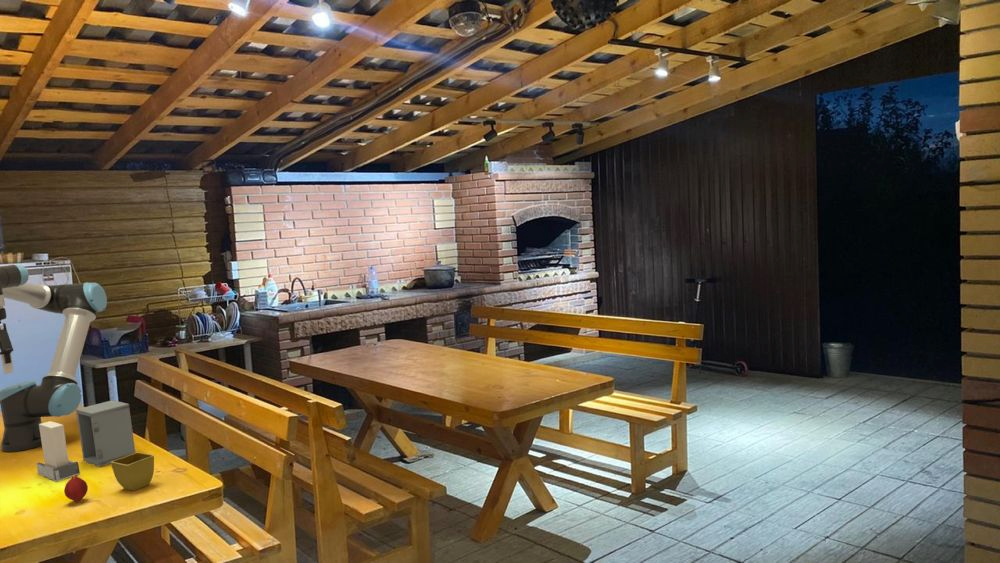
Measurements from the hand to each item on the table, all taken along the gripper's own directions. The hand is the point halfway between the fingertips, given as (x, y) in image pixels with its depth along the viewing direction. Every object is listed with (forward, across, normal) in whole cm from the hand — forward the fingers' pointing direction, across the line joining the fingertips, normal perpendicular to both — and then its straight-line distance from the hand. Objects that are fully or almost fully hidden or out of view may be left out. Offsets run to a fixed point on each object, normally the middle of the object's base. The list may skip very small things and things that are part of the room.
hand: (1, 371), depth 250 cm
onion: (+33, +58, -4) cm, 67 cm away
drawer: (+33, +25, +4) cm, 41 cm away
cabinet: (+33, +25, +20) cm, 46 cm away
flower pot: (+33, +63, +11) cm, 72 cm away
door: (+32, +25, +4) cm, 41 cm away
